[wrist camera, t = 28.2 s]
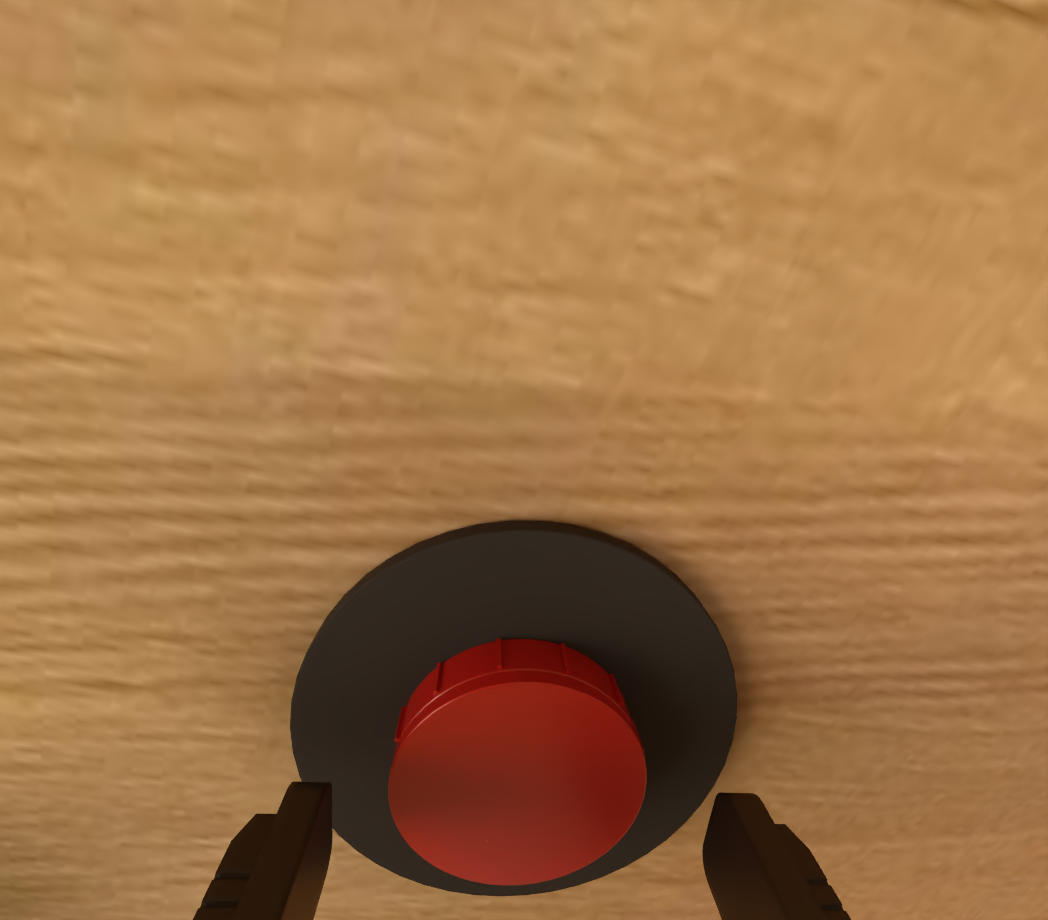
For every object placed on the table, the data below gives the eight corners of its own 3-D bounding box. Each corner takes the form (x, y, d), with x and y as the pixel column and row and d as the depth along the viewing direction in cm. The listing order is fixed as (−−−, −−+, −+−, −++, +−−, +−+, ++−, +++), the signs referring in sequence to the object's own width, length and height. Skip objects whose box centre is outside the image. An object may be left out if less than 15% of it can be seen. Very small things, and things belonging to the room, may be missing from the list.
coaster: (813, 663, 13) (828, 679, 13) (560, 924, 15) (563, 947, 15) (459, 426, 11) (457, 432, 10) (218, 771, 13) (205, 793, 12)
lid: (353, 762, 12) (336, 821, 11) (491, 594, 11) (491, 635, 10) (536, 855, 14) (542, 919, 12) (675, 711, 13) (699, 762, 11)
